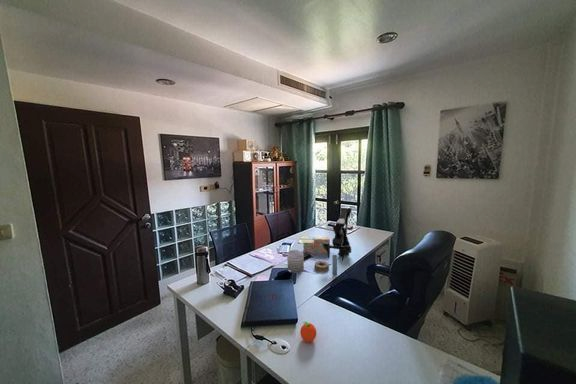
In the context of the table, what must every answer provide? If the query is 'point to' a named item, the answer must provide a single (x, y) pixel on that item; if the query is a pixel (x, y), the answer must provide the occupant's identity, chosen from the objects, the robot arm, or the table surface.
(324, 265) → the brown ring
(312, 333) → the clementine
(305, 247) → the stack of blocks
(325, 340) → the table surface
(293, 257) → the can
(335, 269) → the peg
